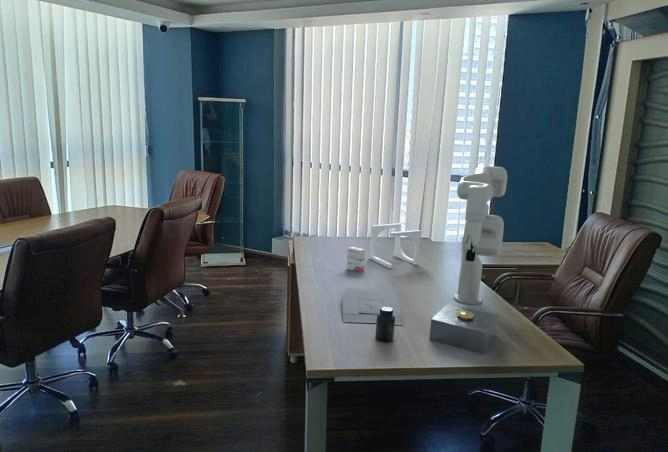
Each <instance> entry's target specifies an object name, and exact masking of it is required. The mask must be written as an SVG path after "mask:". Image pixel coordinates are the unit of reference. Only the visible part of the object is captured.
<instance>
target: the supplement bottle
mask: <svg viewBox="0 0 668 452" xmlns="http://www.w3.org/2000/svg"><path fill="white" fill-rule="evenodd" d="M374 334H375V336H374V337H375V339H376V341H377V342H380V343H391V342H393V340H394V338H395V337H394V336H395V317H394V316H393V308H391V307H387V306H384V307H381V308H380V314H379V315H378V316H377V320H376V323H375V333H374Z"/></svg>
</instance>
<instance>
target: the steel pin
mask: <svg viewBox="0 0 668 452" xmlns="http://www.w3.org/2000/svg"><path fill="white" fill-rule="evenodd" d="M457 317H458V318H460V319H462V320H468V321H470V320H473V317H474V314H473V313H472V312H469V311H464V310H461V311H458V313H457Z"/></svg>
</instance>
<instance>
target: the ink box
mask: <svg viewBox="0 0 668 452" xmlns="http://www.w3.org/2000/svg"><path fill="white" fill-rule="evenodd" d="M346 254H347V255H346V256H347V257H346V269H347V270H350V271H354V272H355V271H356V272H360V273H361V272H363V271H364V270H365V259H366V258H365V257H366V249H365V248H360V247H357V246H356V247H355V246H350V247H348V248H347V253H346Z"/></svg>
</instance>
